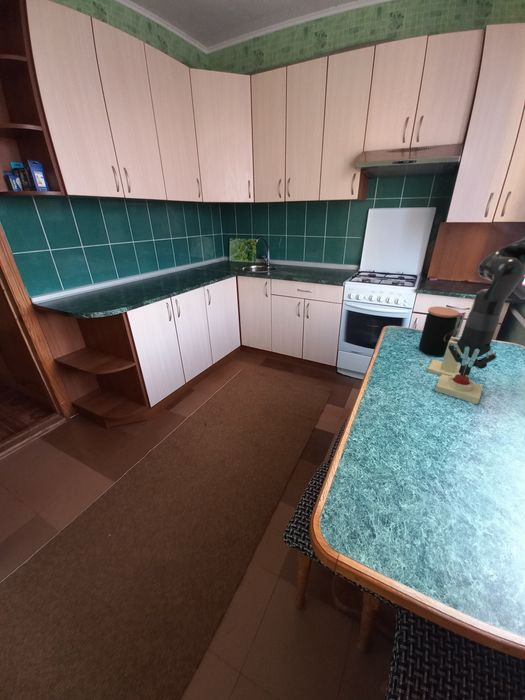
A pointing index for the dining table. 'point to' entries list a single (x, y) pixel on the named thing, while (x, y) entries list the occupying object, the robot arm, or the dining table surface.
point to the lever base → (446, 363)
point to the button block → (459, 389)
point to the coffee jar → (438, 330)
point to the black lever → (475, 360)
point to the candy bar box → (458, 323)
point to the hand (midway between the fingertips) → (463, 375)
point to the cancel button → (461, 379)
